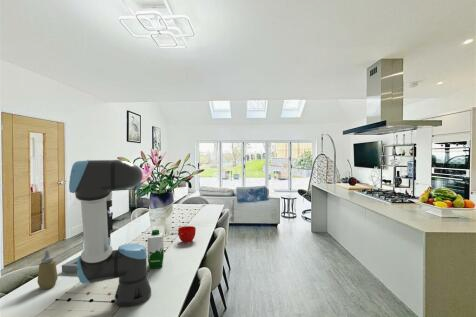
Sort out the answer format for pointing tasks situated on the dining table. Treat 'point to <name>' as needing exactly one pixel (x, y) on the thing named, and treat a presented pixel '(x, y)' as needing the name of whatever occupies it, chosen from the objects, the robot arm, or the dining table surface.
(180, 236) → the ceramic cup
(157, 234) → the milk carton
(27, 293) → the dining table surface
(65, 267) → the housing
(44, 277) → the squeeze bottle
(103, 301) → the dining table surface
